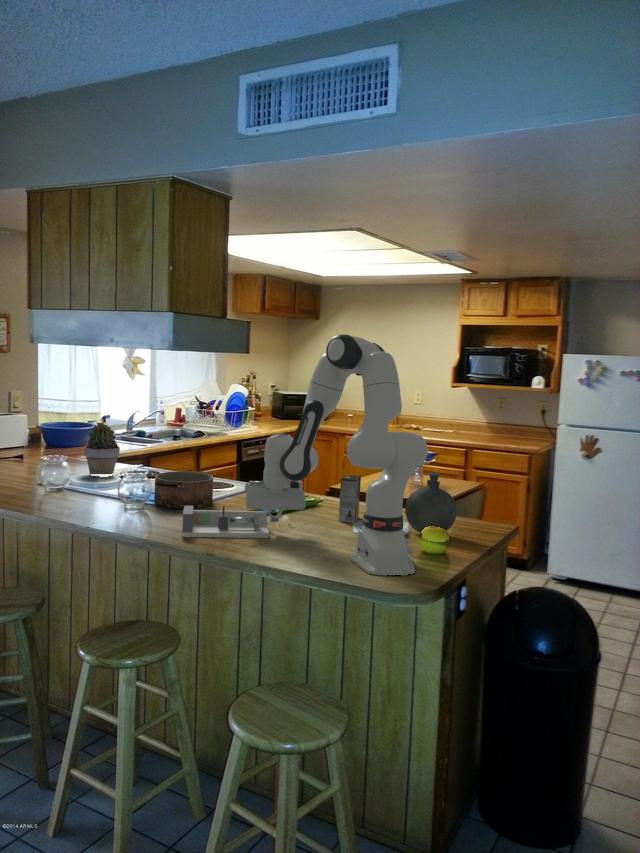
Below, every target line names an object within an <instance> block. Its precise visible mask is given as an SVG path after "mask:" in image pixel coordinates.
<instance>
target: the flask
mask: <svg viewBox="0 0 640 853" xmlns="http://www.w3.org/2000/svg"><path fill="white" fill-rule="evenodd" d="M427 475H428V476H429V479H427V481H426V482H427V483H426V484H427V486H424V487H420V488H418V489H416V490H414V491H412V493H411V494H409V496H408V498H407V500H406V503H405V512H404V513H405V517H406V520H407V522H408V524H409V525H410V527H411V528H413V530H415V531H416V532H417V533H420V534H422V533H421V531H422V530H423V529H424V528H425V527H428V526H435V527H440V528H443V529H445V530H446V532H447V531H449V529H451V528H452V526H454V524H455V521H456V519H457V513H458V512H457V511H458V509H457V503H456V501H455V499H454V497H453V495H452V494H450V493H449V492H448V491H446V490H445V489H443V488H440V483H441V482H440V481H439V478H440V476H441V474H440V473H438V472H435V471H431V472H427Z"/></svg>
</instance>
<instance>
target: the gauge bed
mask: <svg viewBox="0 0 640 853" xmlns="http://www.w3.org/2000/svg"><path fill="white" fill-rule="evenodd" d="M193 507H194V506H184V509H183V511H182V533H181V534H182V535H181V537H182V538H185V537H186V538H236V539H237V538H240V539H241V538H244V539H245V538H248V539H249V538H250V539H256V538H257V539H268V538H270V532H269V528H268V512H267V510H266V511H264V510H263V511H261V510H257V511H258V512H259V530H254V526H253V522H230V517H244V518H254V511H255V510H251V511H250V510H225V511H224V513H228V529H218V520H219V513H223V510H210V509H209V510H207V509H206V510H204V509H202V510H199V509H193Z"/></svg>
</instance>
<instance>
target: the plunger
mask: <svg viewBox="0 0 640 853" xmlns="http://www.w3.org/2000/svg"><path fill="white" fill-rule="evenodd" d="M253 511H254V518H244V517H230V522H253V526H254V530H259V512H258V511H259V510H253Z"/></svg>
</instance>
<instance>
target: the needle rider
mask: <svg viewBox="0 0 640 853" xmlns="http://www.w3.org/2000/svg"><path fill="white" fill-rule="evenodd" d="M225 509H226V508H225V505H222V511H223V513H219V520H218V529H228V513H224V511H226V510H225Z"/></svg>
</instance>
